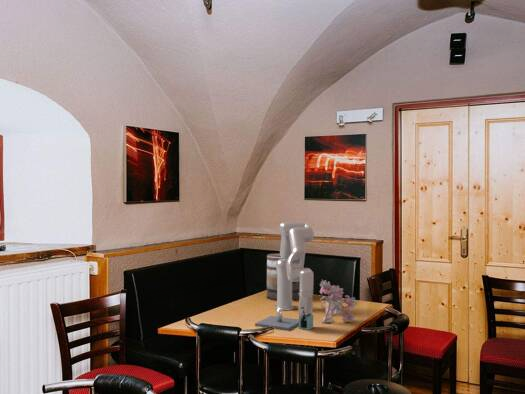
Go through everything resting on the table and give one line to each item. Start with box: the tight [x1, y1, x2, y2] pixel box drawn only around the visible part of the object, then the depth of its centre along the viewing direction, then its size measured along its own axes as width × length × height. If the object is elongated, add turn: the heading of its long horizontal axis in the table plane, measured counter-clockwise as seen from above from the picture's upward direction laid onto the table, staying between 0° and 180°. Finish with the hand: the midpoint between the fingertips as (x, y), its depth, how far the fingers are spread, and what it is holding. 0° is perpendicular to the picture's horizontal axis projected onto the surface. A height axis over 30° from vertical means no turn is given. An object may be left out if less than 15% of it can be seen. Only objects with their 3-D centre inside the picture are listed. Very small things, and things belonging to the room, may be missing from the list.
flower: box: [319, 279, 357, 324], centre depth 290 cm, size 20×22×25 cm
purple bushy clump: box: [320, 295, 338, 316], centre depth 313 cm, size 12×9×12 cm
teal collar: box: [298, 313, 314, 331], centre depth 277 cm, size 6×6×7 cm
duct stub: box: [276, 309, 283, 322], centre depth 284 cm, size 3×3×7 cm
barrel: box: [266, 252, 300, 302], centre depth 358 cm, size 22×22×30 cm
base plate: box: [254, 315, 299, 332], centre depth 284 cm, size 20×20×2 cm
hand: (305, 325), depth 277 cm, fingers closed on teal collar, 5 cm apart
